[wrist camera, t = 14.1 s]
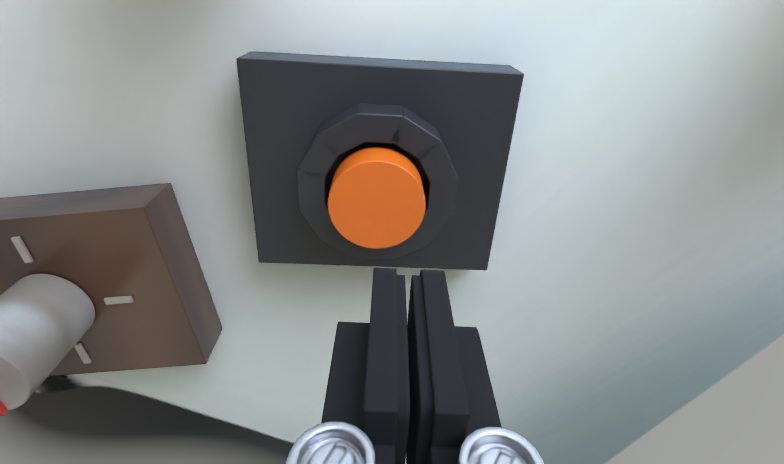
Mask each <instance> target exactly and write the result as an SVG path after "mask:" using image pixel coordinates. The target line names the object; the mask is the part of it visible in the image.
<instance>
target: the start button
mask: <svg viewBox="0 0 784 464" xmlns="http://www.w3.org/2000/svg"><path fill="white" fill-rule="evenodd" d="M425 207H426V202H425V195H424V190H423V185H422V180H421V177H420V174H419V172H418V170H417V168H416V167H415V165H414V164H413V163H412V162H411V161H410V160H409V159H408V158H407V157H406V156H404V155H403V154H401V153H399V152H398V151H395V150H393V149H389V148H385V147H369V148H364V149H361V150H358V151H356V152H354V153H352V154H351V155H349V156H348V157H347V158H345V159H344V160H343V161H342V163H341V164H340V165H339V167H338V168H337V170H336V172H335V174H334V177H333V181H332V184H331V188H330V192H329V197H328V212H329V216H330V218H331V221H332V223H333V225H334V226H335V228H336V229H337V230H338V232H339V233H340V234H341V235H342V236H343V237H345V238H346V239H347V240H349V241H350V242H352V243H354V244H356V245H359V246H362V247H366V248H373V249H382V248H388V247H392V246H395V245H398V244H400V243H402V242H404V241H405V240H407V239H408V238H409V237H410V236H412V235H413V234H414V233H415V231H416V230H417V229H418V227H419V226H420V224H421V222H422V220H423V217H424V214H425Z"/></svg>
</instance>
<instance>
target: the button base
mask: <svg viewBox="0 0 784 464" xmlns="http://www.w3.org/2000/svg"><path fill="white" fill-rule="evenodd" d="M237 68H238V77H239V86H240V95H241V104H242V113H243V123H244V132H245V141H246V150H247V159H248V168H249V177H250V186H251V195H252V204H253V213H254V222H255V231H256V240H257V249H258V258H259V262H266V263H295V264H324V265H352V266H381V267H410V268H439V269H468V270H487V266H488V261H489V255H490V250H491V245H492V240H493V234H494V229H495V224H496V218H497V213H498V208H499V203H500V197H501V192H502V187H503V182H504V176H505V171H506V166H507V160H508V155H509V150H510V145H511V139H512V134H513V129H514V123H515V118H516V113H517V108H518V102H519V97H520V92H521V86H522V81H523V76H524V74H523V73H521V72H520V71H518V70H517V69H515V68H513V67H512V66H509V65H491V64H472V63H454V62H436V61H417V60H399V59H380V58H362V57H343V56H325V55H307V54H288V53H270V52H249V53H247V54H245V55H243V56H241V57H239V58H237ZM369 147H385V148H389V149H393V150H395V151H398V152H399V153H401V154H403V155H404V156H406V157H407V158H408V159H409V160H410V161H411V162H412V163H413V164H414V165H415V167H416V168H417V170H418V172H419V174H420V177H421V180H422V185H423V190H424V195H425V202H426V207H425V214H424V217H423V220H422V222H421V224H420V226H419V227H418V229H417V230H416V231H415V233H414V234H413V235H412V236H410V237H409V238H408V239H407V240H405V241H404V242H402V243H400V244H398V245H395V246H392V247H388V248H382V249H373V248H366V247H362V246H359V245H356V244H354V243H352V242H350V241H349V240H347V239H346V238H345V237H343V236H342V235H341V234H340V233H339V232H338V230H337V229H336V228H335V226H334V225H333V223H332V221H331V218H330V216H329V212H328V197H329V192H330V188H331V184H332V181H333V177H334V174H335V172H336V170H337V168H338V167H339V165H340V164H341V163H342V161H343V160H344V159H345V158H347V157H348V156H349V155H351V154H352V153H354V152H356V151H358V150H361V149H364V148H369Z"/></svg>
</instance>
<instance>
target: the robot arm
mask: <svg viewBox="0 0 784 464" xmlns="http://www.w3.org/2000/svg"><path fill="white" fill-rule="evenodd" d="M405 458H406V461H407V464H544V461H543V460H542V458H541V456H540V455H539V453H538V452H537V450H536V449H535V447H534V446H533V445H531V444H530V443H529V442H528V441H527V440H526V439H525V438H524V437H522V436H520V435H519V434H517V433H515V432H513V431H511V430H507V429H504V428H502V427H501V423H500V419H499V415H498V411H497V407H496V402H495V398H494V394H493V390H492V386H491V382H490V378H489V374H488V369H487V365H486V361H485V357H484V353H483V349H482V345H481V341H480V336H479V333H478V330H477V328H476V327H456V326H454V323H453V317H452V311H451V306H450V300H449V294H448V289H447V283H446V277H445V272H444V271H438V270H421V272H420V276H414V275H412V278H411V289H410V300H409V312H408V323H407V311H406V286H405V275H396V269H391V268H374V270H373V285H372V299H371V314H370V323H356V322H338V325H337V330H336V336H335V342H334V348H333V354H332V360H331V366H330V373H329V379H328V385H327V391H326V397H325V403H324V409H323V416H322V422H321V424H318V425H316V426H314V427H312V428H310V429H308V430H307V431H305V432H304V433H303V434H302V435H301V436H300V437H299V438H298V439H297V440H296V442H295V444H294V445H293V447H292V449H291V451H290V453H289V455H288V458H287V461H286V463H285V464H405Z"/></svg>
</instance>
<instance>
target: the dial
mask: <svg viewBox="0 0 784 464" xmlns="http://www.w3.org/2000/svg"><path fill="white" fill-rule="evenodd" d="M94 319H95V309H94V306H93V303H92V301H91V300H90V298H89V297H88V296H87V294H86V293H85V292H84V291H83V290H82V289H80V288H79V287H78V286H76V285H75V284H73V283H72V282H70V281H68V280H66V279H63V278H61V277H58V276H54V275H49V274H33V275H29V276H25V277H23V278H21V279H20V280H19V281H17V282H16V283H15V284H14V285H12V286H11V287H10V288H9V289H7V290H6V291H5V292H4V293H2V294H1V295H0V416H4V415H5V414H6V413H7V412H8V411H9V410H11V409H15V408H17V407H19V406H21V405H23V404H24V403H25V402H26V401H27V400H28V399H29V398H30V396H31V395H32V394H33V393H34V392H35V391H36V390H37V388H38V387H39V386H40V385H41V384H42V383H43V381H44V380H45V379H46V378H47V377H48V376H49V375H50V373H51V372H52V371H53V370H54V369H55V368H56V366H57V365H58V364H59V363H60V362H61V361H62V359H63V358H64V357H65V356H66V355H67V354H68V352H69V351H70V350H71V349H72V348H73V347H74V345H75V344H76V343H77V342H78V341H79V340H80V338H81V337H82V336H83V335H84V334H85V333H86V331H87V330H88V329H89V328H90V327H91V325H92V324H93V322H94Z"/></svg>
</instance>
